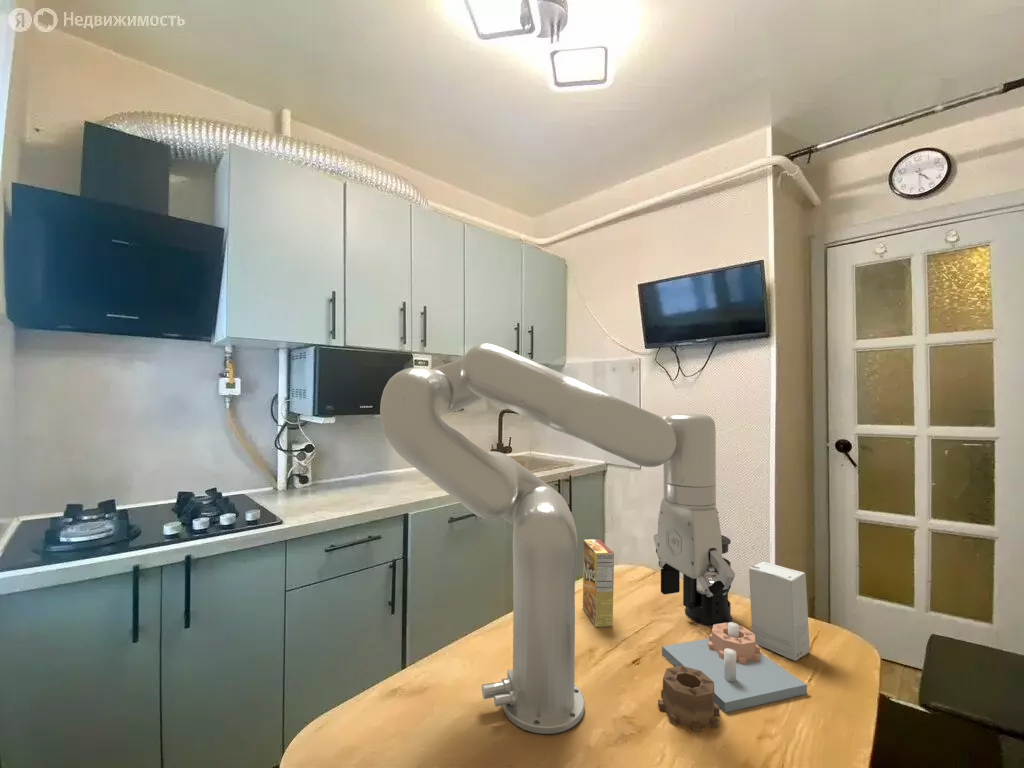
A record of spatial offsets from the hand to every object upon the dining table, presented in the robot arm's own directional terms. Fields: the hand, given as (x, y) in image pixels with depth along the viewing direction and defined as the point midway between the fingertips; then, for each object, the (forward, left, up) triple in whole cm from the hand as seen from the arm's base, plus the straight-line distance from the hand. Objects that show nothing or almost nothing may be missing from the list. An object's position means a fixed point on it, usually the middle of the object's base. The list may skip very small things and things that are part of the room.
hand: (689, 606), depth 70 cm
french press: (+23, +24, -16) cm, 37 cm away
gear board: (+13, +6, -16) cm, 21 cm away
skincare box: (+28, +10, -16) cm, 34 cm away
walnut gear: (0, 0, -16) cm, 16 cm away
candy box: (0, +30, -16) cm, 34 cm away
